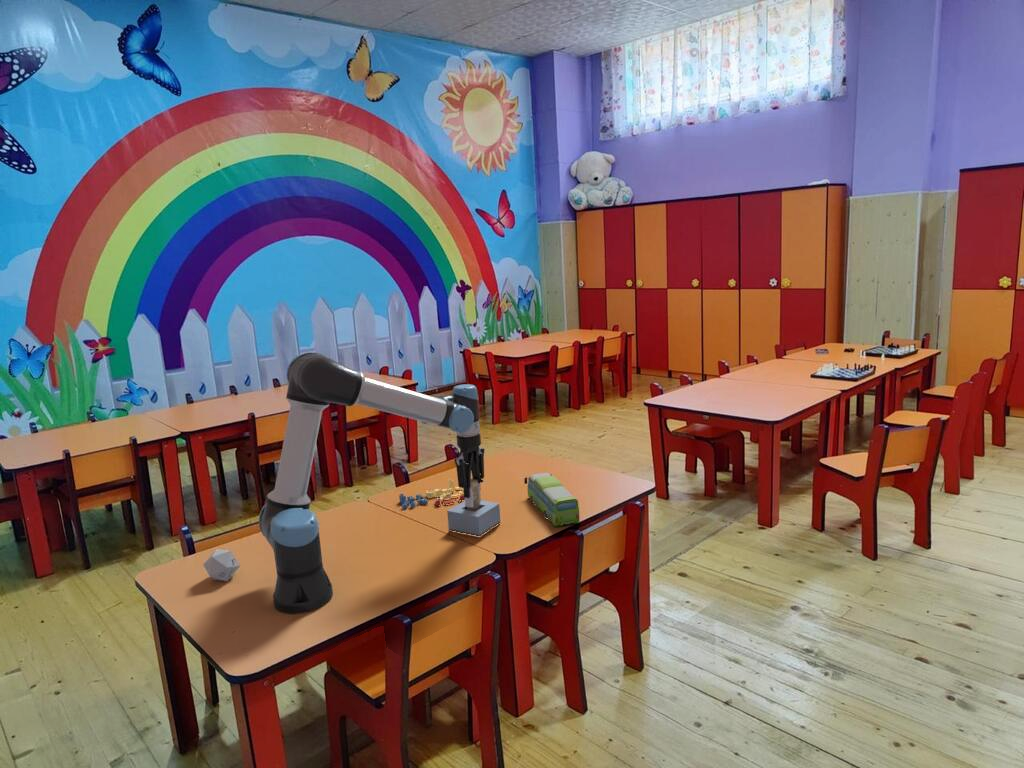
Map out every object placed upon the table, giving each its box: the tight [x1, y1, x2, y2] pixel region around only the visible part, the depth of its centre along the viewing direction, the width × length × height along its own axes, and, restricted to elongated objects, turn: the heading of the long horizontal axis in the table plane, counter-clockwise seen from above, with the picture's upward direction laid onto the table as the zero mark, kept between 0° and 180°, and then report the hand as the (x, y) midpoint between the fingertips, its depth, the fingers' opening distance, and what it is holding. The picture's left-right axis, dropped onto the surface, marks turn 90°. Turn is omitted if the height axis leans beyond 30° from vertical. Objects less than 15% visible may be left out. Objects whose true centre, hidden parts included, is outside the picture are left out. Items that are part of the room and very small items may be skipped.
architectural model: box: [398, 478, 465, 510], centre depth 254 cm, size 45×14×5 cm, turn 116°
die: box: [202, 548, 241, 582], centre depth 199 cm, size 8×9×10 cm
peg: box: [467, 478, 480, 512], centre depth 223 cm, size 4×4×12 cm
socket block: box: [446, 499, 501, 536], centre depth 224 cm, size 12×12×7 cm
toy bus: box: [524, 472, 580, 527], centre depth 235 cm, size 10×31×10 cm, turn 16°
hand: (473, 504), depth 223 cm, fingers closed on peg, 3 cm apart
